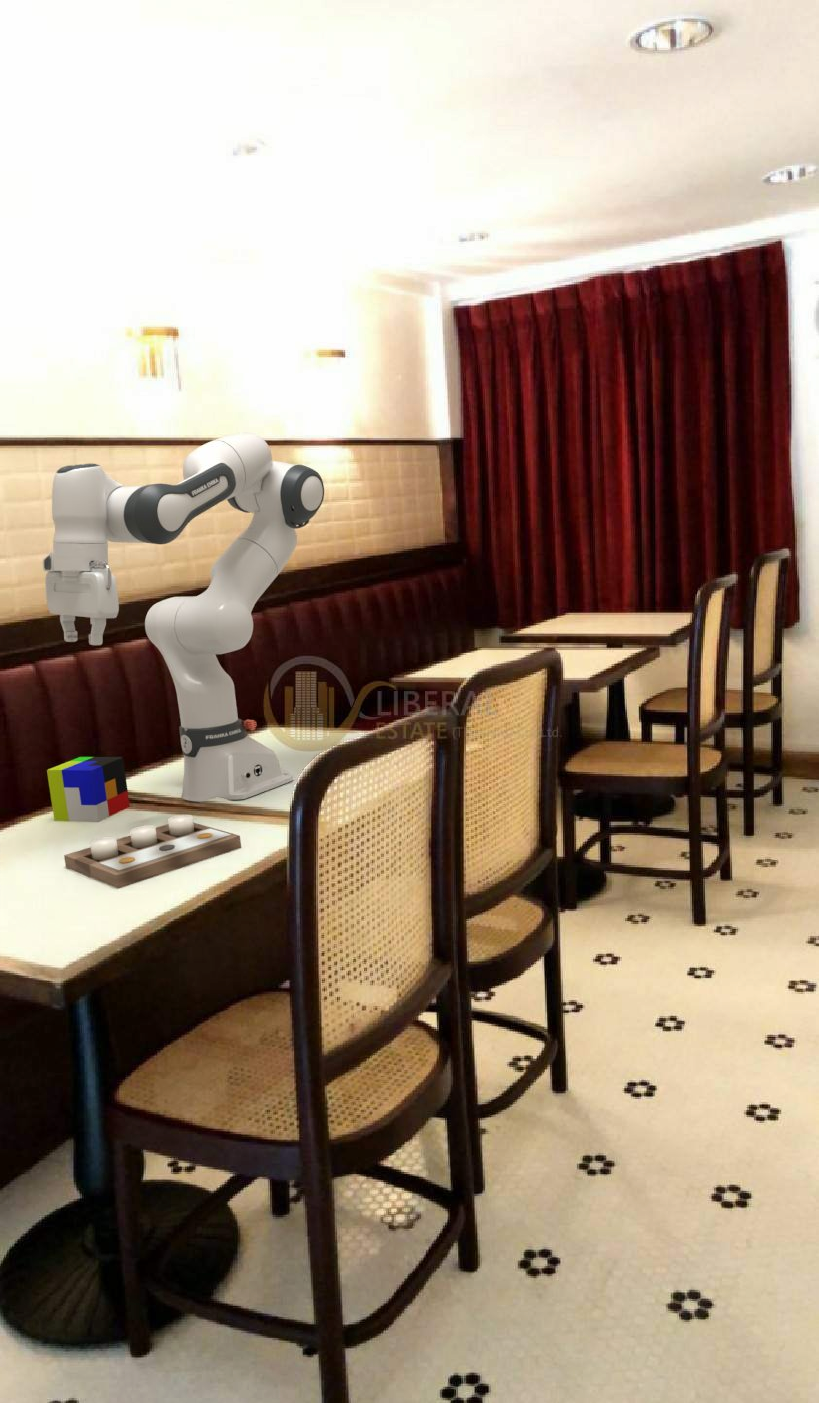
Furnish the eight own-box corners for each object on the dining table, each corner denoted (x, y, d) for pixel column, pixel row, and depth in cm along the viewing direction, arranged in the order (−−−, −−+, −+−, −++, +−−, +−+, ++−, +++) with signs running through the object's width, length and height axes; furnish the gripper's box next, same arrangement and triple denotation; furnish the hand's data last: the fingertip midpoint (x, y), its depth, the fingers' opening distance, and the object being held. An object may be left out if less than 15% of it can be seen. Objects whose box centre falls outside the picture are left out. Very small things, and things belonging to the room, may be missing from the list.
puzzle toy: (98, 822, 202) (91, 770, 200) (54, 821, 206) (46, 770, 204) (129, 807, 211) (123, 757, 209) (87, 806, 215) (79, 756, 213)
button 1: (110, 850, 174) (108, 835, 174) (123, 854, 171) (121, 839, 171) (87, 857, 171) (85, 842, 171) (99, 862, 168) (97, 846, 168)
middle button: (149, 838, 179) (147, 824, 178) (162, 842, 176) (160, 828, 175) (127, 845, 176) (125, 830, 175) (140, 849, 173) (138, 834, 173)
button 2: (186, 827, 183) (184, 813, 183) (198, 831, 180) (197, 816, 180) (165, 833, 181) (163, 819, 180) (178, 837, 178) (176, 823, 177)
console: (185, 836, 188) (183, 816, 187) (241, 853, 176) (239, 832, 175) (66, 873, 173) (63, 852, 173) (119, 894, 161) (116, 872, 160)
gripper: (127, 561, 178) (129, 646, 179) (72, 561, 193) (74, 639, 195) (91, 561, 174) (93, 647, 175) (38, 560, 189) (40, 640, 190)
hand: (83, 643), depth 185 cm, fingers open, 8 cm apart
